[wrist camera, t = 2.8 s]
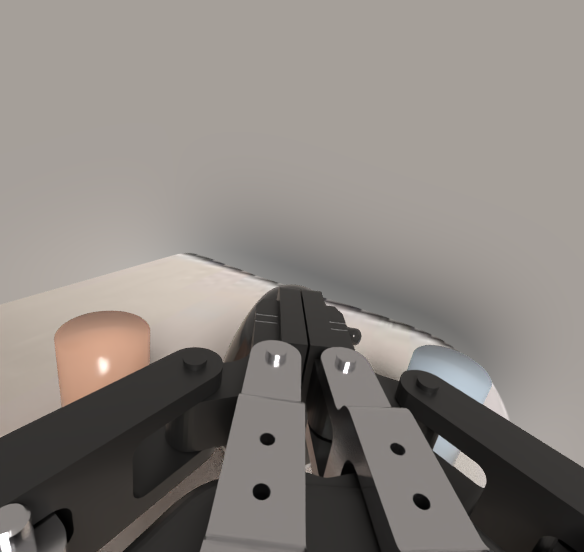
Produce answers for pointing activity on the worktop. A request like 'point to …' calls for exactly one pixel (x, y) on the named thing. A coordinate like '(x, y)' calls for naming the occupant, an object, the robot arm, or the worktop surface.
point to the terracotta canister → (99, 351)
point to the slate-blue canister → (452, 381)
